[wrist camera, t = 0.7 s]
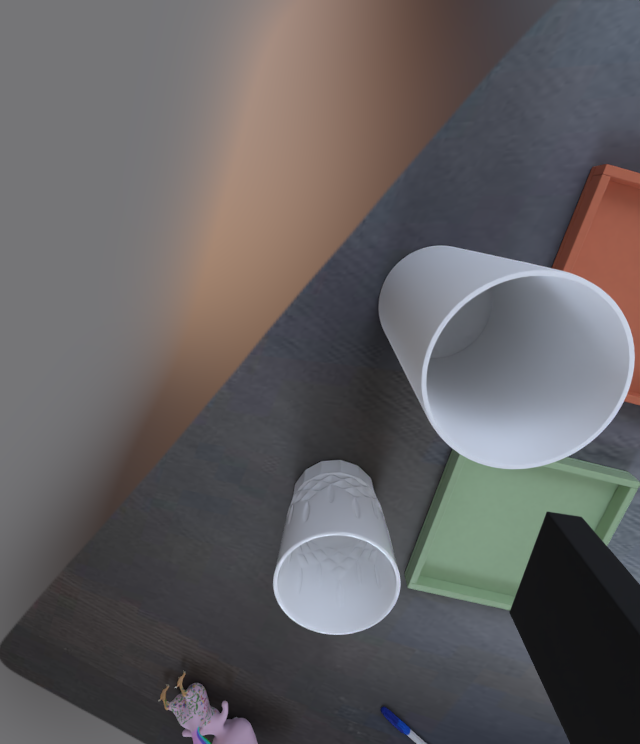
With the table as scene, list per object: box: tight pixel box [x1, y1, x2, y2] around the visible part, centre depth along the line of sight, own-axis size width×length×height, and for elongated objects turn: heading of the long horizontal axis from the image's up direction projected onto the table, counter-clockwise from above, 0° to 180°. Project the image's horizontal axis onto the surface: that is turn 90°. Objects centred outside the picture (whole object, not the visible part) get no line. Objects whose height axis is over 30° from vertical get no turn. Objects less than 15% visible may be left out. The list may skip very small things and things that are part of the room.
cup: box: [378, 245, 635, 469], centre depth 26 cm, size 8×8×16 cm
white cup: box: [273, 460, 401, 635], centre depth 33 cm, size 8×8×10 cm
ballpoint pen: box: [381, 707, 427, 744], centre depth 47 cm, size 10×1×1 cm, turn 43°
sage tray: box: [405, 449, 640, 610], centre depth 38 cm, size 14×14×2 cm
